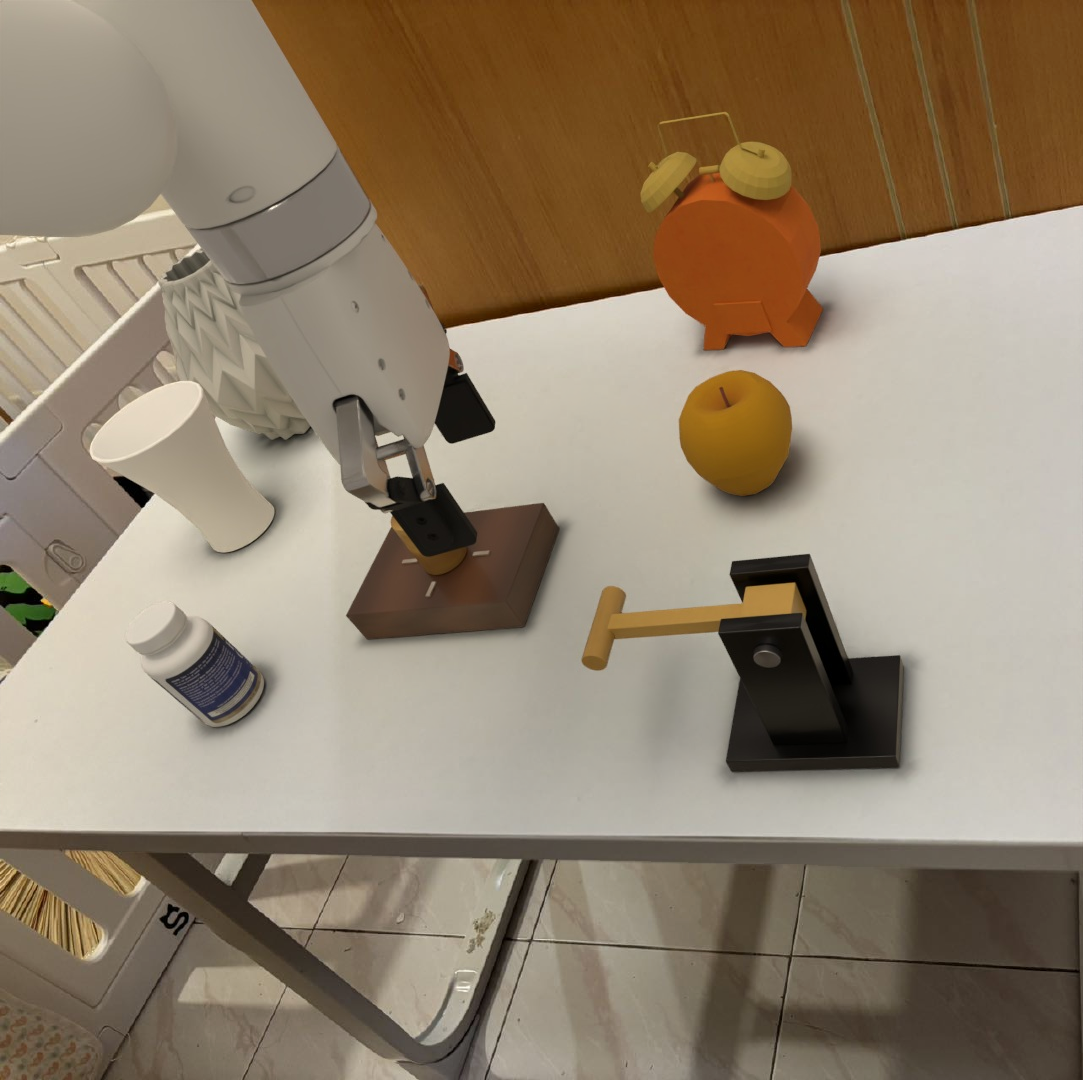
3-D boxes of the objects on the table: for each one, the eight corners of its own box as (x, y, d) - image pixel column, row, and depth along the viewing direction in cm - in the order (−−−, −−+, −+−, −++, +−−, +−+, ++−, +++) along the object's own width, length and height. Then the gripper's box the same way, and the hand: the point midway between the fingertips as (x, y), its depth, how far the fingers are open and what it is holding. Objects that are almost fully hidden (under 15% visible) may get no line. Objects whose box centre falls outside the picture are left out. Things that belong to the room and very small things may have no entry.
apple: (823, 492, 74) (792, 399, 68) (715, 534, 75) (676, 446, 69) (792, 427, 81) (761, 336, 75) (693, 466, 81) (655, 380, 75)
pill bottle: (279, 671, 79) (198, 591, 73) (243, 729, 76) (155, 651, 69) (227, 671, 81) (144, 593, 75) (190, 728, 78) (99, 652, 71)
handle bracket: (731, 772, 60) (663, 652, 52) (747, 675, 65) (687, 552, 57) (899, 768, 57) (854, 639, 49) (903, 666, 61) (863, 534, 54)
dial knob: (457, 573, 76) (422, 525, 72) (417, 577, 77) (380, 529, 74) (473, 538, 78) (439, 489, 75) (434, 542, 80) (399, 494, 76)
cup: (304, 524, 93) (209, 412, 84) (199, 588, 91) (91, 480, 82) (283, 473, 100) (195, 364, 91) (187, 530, 98) (86, 426, 89)
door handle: (590, 676, 57) (573, 651, 55) (610, 607, 60) (595, 581, 58) (800, 664, 53) (788, 636, 51) (809, 590, 56) (798, 562, 54)
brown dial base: (366, 639, 79) (344, 614, 77) (412, 545, 85) (392, 519, 83) (524, 627, 74) (505, 599, 72) (559, 528, 81) (543, 500, 79)
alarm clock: (842, 304, 90) (783, 84, 77) (822, 346, 87) (757, 124, 73) (710, 311, 96) (634, 109, 83) (687, 352, 93) (604, 147, 79)
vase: (315, 467, 99) (191, 311, 87) (204, 466, 106) (75, 321, 94) (401, 362, 109) (300, 208, 96) (293, 367, 116) (187, 224, 104)
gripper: (263, 166, 53) (426, 415, 65) (150, 349, 41) (376, 617, 52) (392, 119, 52) (534, 381, 63) (315, 293, 39) (510, 580, 51)
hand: (463, 487), depth 58 cm, fingers open, 9 cm apart
